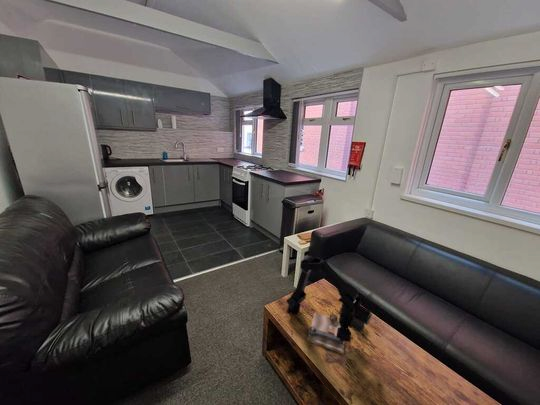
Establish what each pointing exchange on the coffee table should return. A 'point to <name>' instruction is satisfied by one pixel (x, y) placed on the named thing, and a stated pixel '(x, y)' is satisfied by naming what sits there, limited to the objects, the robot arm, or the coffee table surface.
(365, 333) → the coffee table surface
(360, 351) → the coffee table surface
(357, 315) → the robot arm
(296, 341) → the coffee table surface
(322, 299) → the coffee table surface
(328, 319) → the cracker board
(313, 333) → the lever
